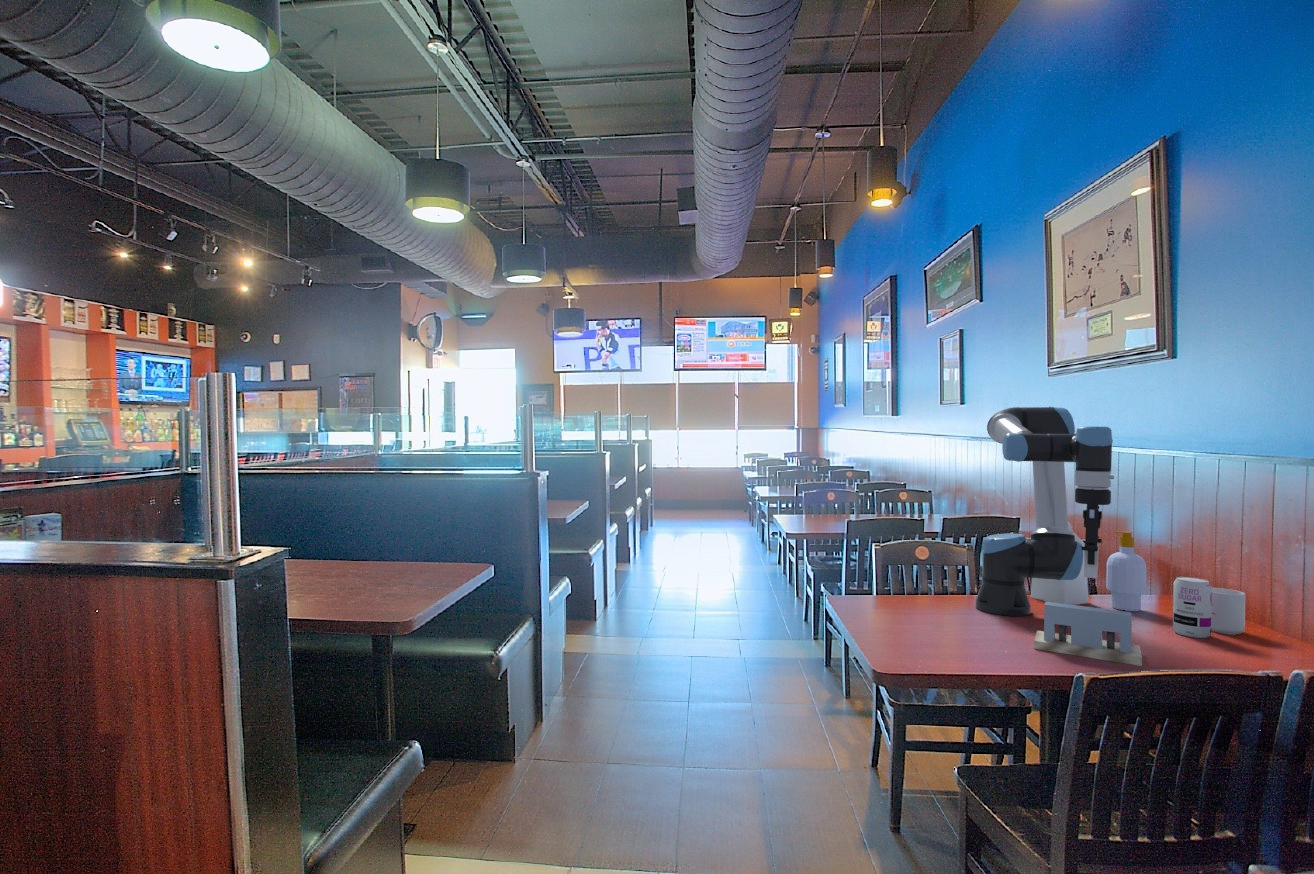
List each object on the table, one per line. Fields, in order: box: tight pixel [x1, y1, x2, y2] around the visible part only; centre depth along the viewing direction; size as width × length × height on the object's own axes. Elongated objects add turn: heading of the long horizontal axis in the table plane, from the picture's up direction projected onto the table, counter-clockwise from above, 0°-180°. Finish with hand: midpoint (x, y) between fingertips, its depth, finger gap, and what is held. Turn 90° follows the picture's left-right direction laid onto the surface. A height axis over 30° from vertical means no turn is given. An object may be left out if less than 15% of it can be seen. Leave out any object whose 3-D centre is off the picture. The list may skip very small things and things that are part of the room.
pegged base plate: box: [1033, 624, 1143, 667], centre depth 166 cm, size 22×11×6 cm, turn 57°
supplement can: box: [1172, 576, 1213, 639], centre depth 182 cm, size 8×8×15 cm
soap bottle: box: [1105, 530, 1148, 612], centre depth 209 cm, size 10×10×24 cm
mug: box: [1211, 587, 1246, 636], centre depth 188 cm, size 12×9×11 cm
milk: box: [1030, 521, 1090, 605], centre depth 220 cm, size 12×12×26 cm
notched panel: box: [1043, 601, 1133, 654], centre depth 165 cm, size 18×4×9 cm, turn 57°
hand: (1091, 572), depth 167 cm, fingers open, 13 cm apart
